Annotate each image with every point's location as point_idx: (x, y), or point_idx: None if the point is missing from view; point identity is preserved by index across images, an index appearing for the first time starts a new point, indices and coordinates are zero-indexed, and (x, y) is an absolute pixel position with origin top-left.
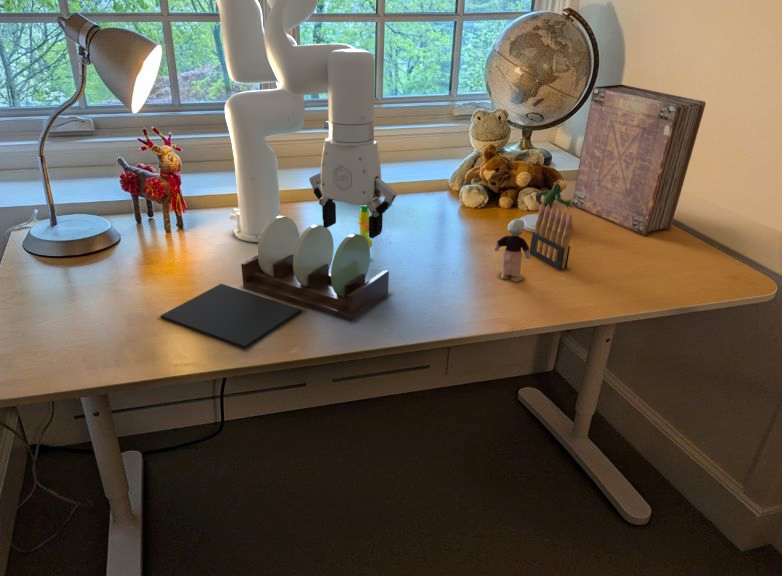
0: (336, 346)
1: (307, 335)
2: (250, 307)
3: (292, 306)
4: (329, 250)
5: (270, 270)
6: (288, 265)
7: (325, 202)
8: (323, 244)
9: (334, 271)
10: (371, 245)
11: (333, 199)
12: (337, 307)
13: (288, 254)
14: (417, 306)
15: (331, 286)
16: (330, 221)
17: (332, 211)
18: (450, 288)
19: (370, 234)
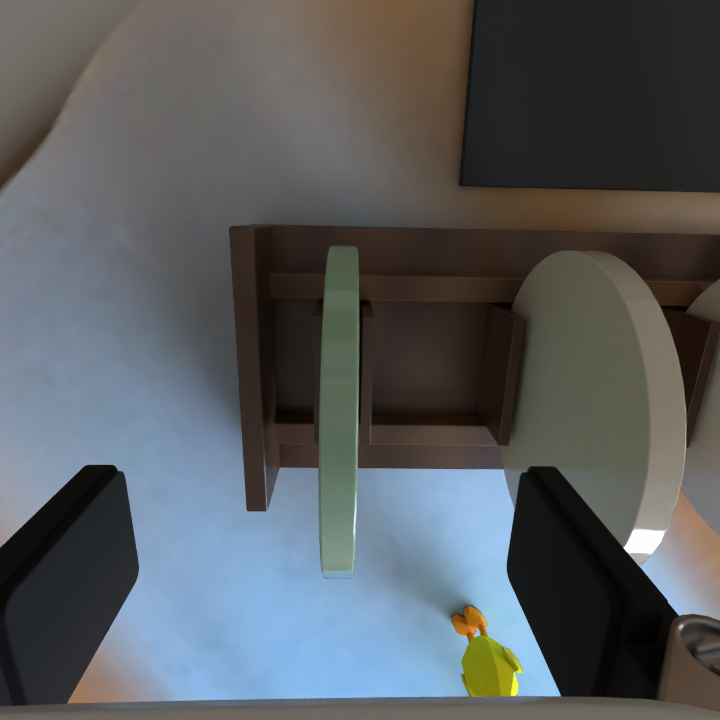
0: (190, 13)
1: (336, 27)
2: (655, 78)
3: (504, 184)
4: None
5: (714, 302)
6: None
7: (669, 661)
8: None
9: (334, 251)
10: (462, 677)
11: (525, 697)
12: None
13: (702, 434)
14: (140, 438)
15: (449, 386)
16: (529, 534)
17: (557, 625)
18: None
19: (85, 476)
